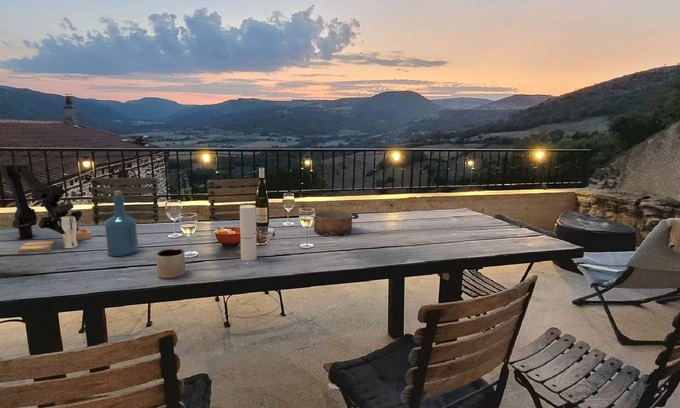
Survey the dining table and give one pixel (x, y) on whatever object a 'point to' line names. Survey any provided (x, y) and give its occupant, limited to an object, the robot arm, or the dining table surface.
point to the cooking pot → (333, 223)
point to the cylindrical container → (248, 232)
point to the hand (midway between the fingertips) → (70, 232)
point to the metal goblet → (68, 231)
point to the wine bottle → (121, 230)
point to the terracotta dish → (83, 235)
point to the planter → (170, 263)
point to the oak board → (36, 246)
